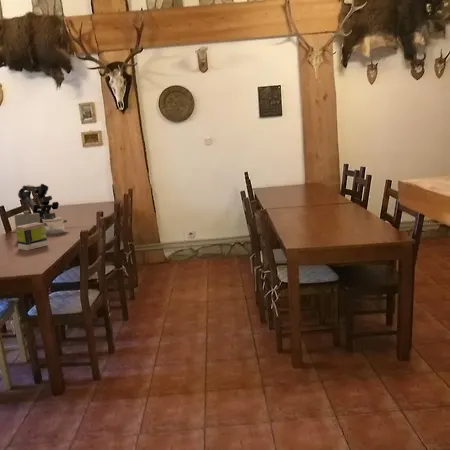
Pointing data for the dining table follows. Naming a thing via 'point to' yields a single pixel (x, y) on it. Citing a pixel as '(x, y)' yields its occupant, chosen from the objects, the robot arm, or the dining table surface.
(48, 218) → the cooker lid
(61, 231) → the cooker pot
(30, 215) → the hip flask
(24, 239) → the tea box
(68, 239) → the dining table surface
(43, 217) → the robot arm
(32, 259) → the dining table surface
